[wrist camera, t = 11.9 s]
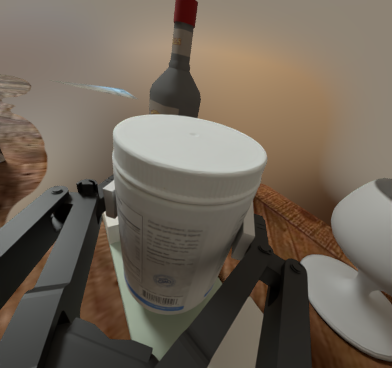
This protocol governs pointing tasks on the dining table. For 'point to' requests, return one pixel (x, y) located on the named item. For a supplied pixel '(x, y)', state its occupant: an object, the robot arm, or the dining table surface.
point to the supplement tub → (180, 204)
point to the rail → (185, 319)
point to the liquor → (178, 69)
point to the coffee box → (1, 156)
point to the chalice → (367, 271)
